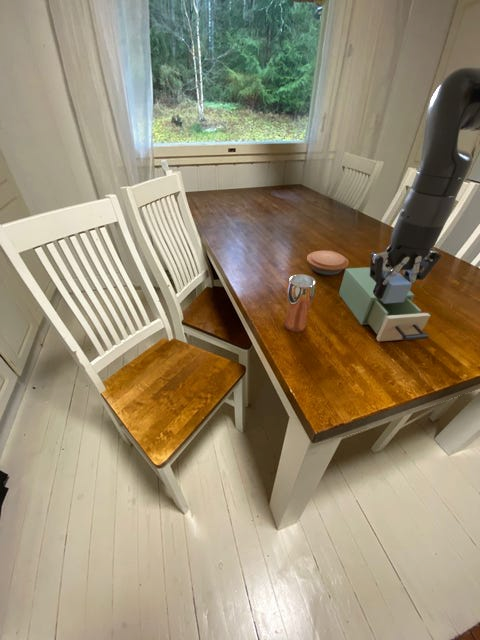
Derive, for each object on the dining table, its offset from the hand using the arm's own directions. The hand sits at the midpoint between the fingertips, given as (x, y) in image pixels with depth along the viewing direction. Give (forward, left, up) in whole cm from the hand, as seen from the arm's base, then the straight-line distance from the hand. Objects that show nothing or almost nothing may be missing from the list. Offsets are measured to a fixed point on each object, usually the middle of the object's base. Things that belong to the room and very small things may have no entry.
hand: (388, 295), depth 60 cm
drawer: (-1, -13, -17) cm, 21 cm away
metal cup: (+20, +3, -18) cm, 27 cm away
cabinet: (+7, -20, -18) cm, 28 cm away
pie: (+29, -35, -18) cm, 49 cm away
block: (0, 0, 0) cm, 0 cm away
